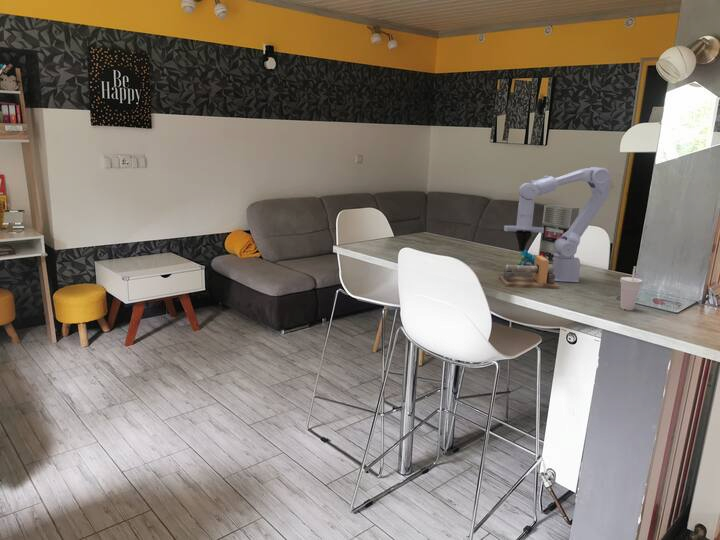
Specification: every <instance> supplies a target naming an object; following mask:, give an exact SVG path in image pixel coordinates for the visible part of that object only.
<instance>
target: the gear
mask: <svg viewBox="0 0 720 540" xmlns="http://www.w3.org/2000/svg"><path fill="white" fill-rule="evenodd" d="M519 251H520V250H519ZM520 254H521V258H520V261H518V262H517V265H525V266H526V264H527V263H530V264H531V266H534V263H535V256H532V253H531V252H528V250H526V249H524V251H520Z"/></svg>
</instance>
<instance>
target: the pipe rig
mask: <svg viewBox="0 0 720 540" xmlns="http://www.w3.org/2000/svg"><path fill="white" fill-rule="evenodd" d="M514 272H518V273H533V272H535V273H538V272H539V266H533V265H526V264H525V265H521V264H506V265H505V268H504V269H503V275H499V276H498V279H499V280H500V282H502V284H503V285H504V286H505V287H508V288H509V287H511V288H513V287H515V288H531V289H535V288H536V289H552V290H553V289H555V290H559V289H560V285H559V284H558V283H556V281H554V280H555V275H554V274H553V273H554V267H553V266H548V273H547V282H546V284H539V283H538V282H537V281H536V280H535V279H533V276H531V277H530V276H514Z"/></svg>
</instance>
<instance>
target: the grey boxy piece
mask: <svg viewBox="0 0 720 540" xmlns="http://www.w3.org/2000/svg"><path fill="white" fill-rule="evenodd" d="M579 214H580V208H579V207H574V206H566V205H559V204H544V207H543V214H542V215H543V216H542V223H541V227H543V228H544V232H543V233H540V241H539V250H538V256H543V257H544V258H546V259H547V260H549V264H551V265H553V259H554V254H555V253H556V251H555V249H554V243H555V241H556V240H557V239H559V238H560V237H561V236H562V235H563V234H564V233H565V232H566V231H568V230H569V228H570V227H571V225H572V224H573V222H574V221H575V220H576V218H577V217H578V215H579Z"/></svg>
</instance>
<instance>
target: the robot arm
mask: <svg viewBox="0 0 720 540" xmlns="http://www.w3.org/2000/svg"><path fill="white" fill-rule="evenodd" d="M612 180H613V178H612V177H611V174H610V171H609V169H607V168H605V167H597V166H591V167H587V168H586V167H585V168H581V169H578V170H574V171H572V172H569V173H566V174H564V175H561V176H558V177H554V176H552V175H549V176H548V175H544V176H543V178H540V179H537V180H534V179H533V180H531V181H530V182H524V183H522V184H521V185H520V186H519V189H518V190H517V193H518V195H519V198H518V201H519V202H518V205H517V206H518V207H517V214H516V225H503V231H504V232H514V234H515V236H516V240H517V243H518V251H524V250H526V246H527V244H528V241H529V240H530V239H531V237H532V233H540V234H541V233H543V232H544V228H543V227H542V226H533V220H534V211H535V210H534V209H535V200H536V199H535V198H536V197H537V196H539V197H540V196H542V195H545V194H548V193H552V192H556V190H557V189H558V187H559V186H564V185H567V184H571V183H575V182H579V181H582V182H586V183H587V184H588V185H589V187H590V190H591V193H592V195H591V196H590V197H589V199H588V200H587V202H586V203H585V205H584V206H583V208H582V209H581V211H579V214H578V217H577V218H576V220H575V221H574V222H573V224H572V225H571V227H570V228H569V230H568V231H566V232H565V233H564V234H563V235H562V236H561V237H560V238H559V239H557V240H556V241H555V243H554V249H555V251H556V253H555V254H554V259H553V264H552V267H554V273H553V274H554V275H555V280H554V282H566V283H567V282H568V283H579V282H580V280H579V276H580V270H581V261H580V258H579V257H575V255H576V253H577V251H578V250H577V249H578V246H579V245H580V243H581V237H582V236H583V234H584V232H586V230H587V229H588V227H589V226H590V224H591V223H592V222H593V220H594V218H596V215H597V214H598V213H599V211H600V210H601V208H602V207H603V206H604V204H605V203H606V201H607V200H608V199H609V196H610V189H611V183H612Z"/></svg>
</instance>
